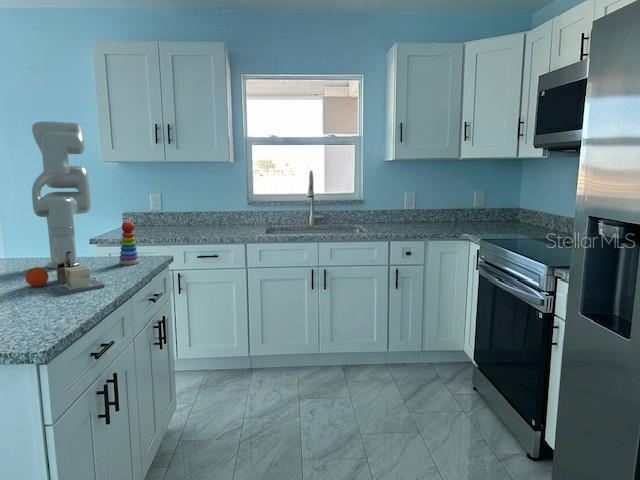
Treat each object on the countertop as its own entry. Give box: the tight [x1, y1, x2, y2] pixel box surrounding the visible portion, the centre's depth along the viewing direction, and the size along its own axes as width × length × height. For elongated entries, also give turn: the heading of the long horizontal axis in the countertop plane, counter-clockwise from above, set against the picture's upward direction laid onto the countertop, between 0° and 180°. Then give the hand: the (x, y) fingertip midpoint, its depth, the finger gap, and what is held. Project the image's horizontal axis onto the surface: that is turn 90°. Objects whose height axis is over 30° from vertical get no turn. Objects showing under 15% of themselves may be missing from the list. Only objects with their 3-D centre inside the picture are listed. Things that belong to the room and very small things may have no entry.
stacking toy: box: [118, 220, 140, 266], centre depth 194 cm, size 8×8×19 cm
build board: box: [51, 279, 105, 296], centre depth 155 cm, size 10×14×1 cm
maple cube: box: [65, 265, 91, 288], centre depth 155 cm, size 6×6×6 cm
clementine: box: [22, 266, 49, 288], centre depth 157 cm, size 8×7×7 cm
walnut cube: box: [55, 267, 66, 285], centre depth 164 cm, size 5×5×5 cm
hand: (66, 277), depth 164 cm, fingers open, 8 cm apart
